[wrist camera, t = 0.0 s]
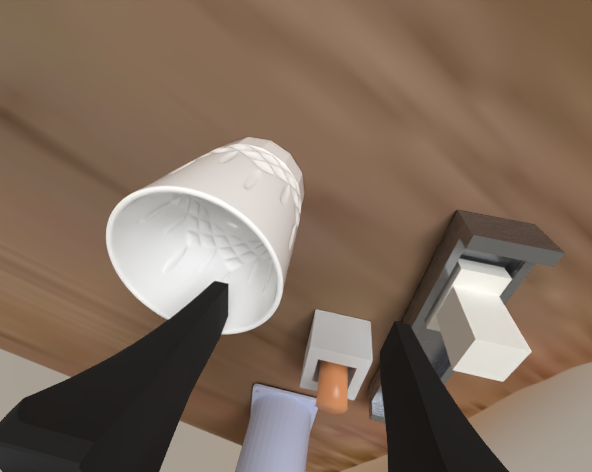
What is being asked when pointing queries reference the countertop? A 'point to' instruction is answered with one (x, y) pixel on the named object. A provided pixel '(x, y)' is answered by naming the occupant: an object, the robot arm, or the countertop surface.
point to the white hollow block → (338, 349)
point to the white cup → (212, 232)
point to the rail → (479, 248)
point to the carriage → (477, 322)
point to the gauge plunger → (332, 388)
